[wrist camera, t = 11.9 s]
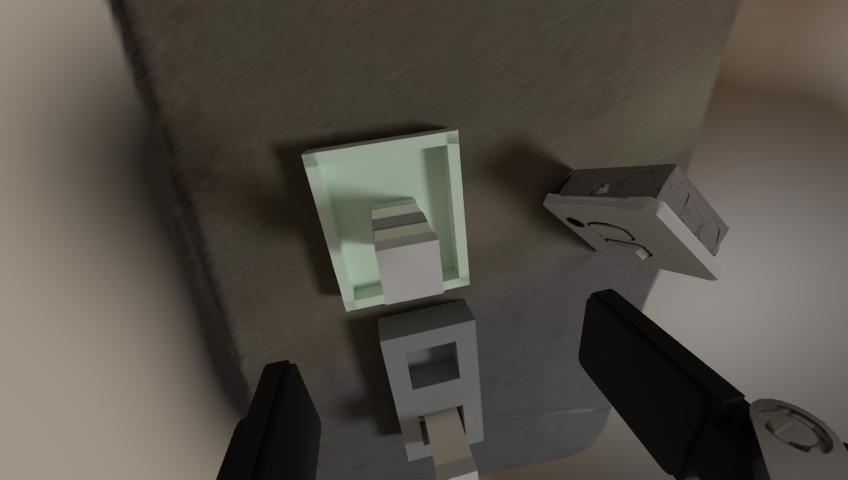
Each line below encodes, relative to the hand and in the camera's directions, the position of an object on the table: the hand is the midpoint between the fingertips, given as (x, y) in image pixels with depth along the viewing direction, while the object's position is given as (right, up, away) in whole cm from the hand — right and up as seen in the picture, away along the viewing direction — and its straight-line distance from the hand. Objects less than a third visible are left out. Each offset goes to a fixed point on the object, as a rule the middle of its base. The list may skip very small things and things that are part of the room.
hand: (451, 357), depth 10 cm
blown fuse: (-3, +5, +14) cm, 15 cm away
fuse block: (0, -10, +22) cm, 24 cm away
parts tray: (-3, +5, +14) cm, 16 cm away
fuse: (0, -13, +23) cm, 27 cm away
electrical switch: (+14, +7, +17) cm, 23 cm away
